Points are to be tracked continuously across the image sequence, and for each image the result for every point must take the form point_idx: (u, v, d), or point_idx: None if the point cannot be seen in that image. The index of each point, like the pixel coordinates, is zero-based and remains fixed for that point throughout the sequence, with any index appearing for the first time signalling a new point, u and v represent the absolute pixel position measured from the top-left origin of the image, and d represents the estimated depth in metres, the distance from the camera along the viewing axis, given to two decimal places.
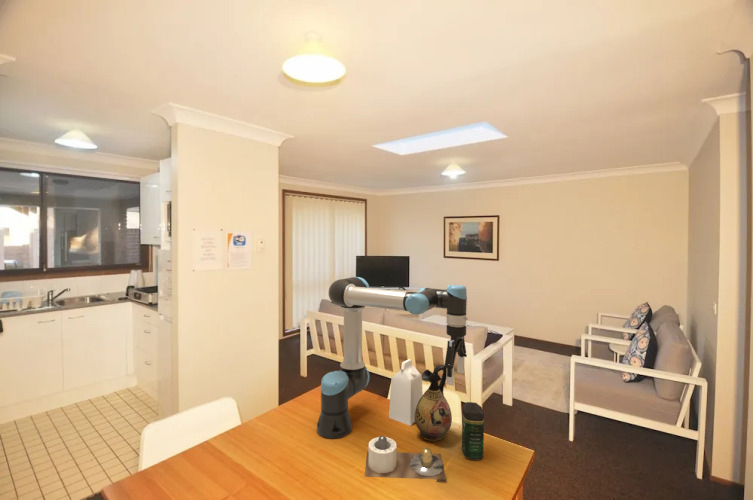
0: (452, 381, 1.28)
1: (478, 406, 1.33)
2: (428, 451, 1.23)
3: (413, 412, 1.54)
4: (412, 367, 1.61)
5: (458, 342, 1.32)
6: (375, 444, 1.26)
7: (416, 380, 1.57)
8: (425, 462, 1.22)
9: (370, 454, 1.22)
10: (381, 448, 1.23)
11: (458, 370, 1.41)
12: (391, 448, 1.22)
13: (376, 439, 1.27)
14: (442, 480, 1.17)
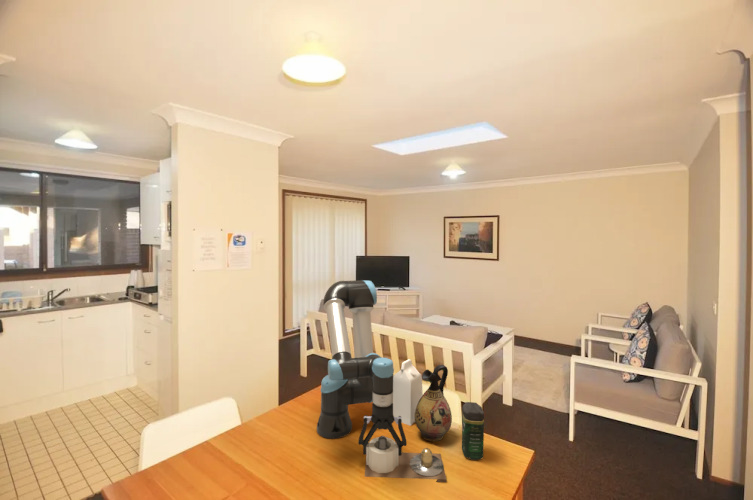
0: None
1: (478, 406, 1.33)
2: (428, 451, 1.23)
3: (413, 412, 1.54)
4: (412, 367, 1.61)
5: (377, 422, 1.22)
6: (375, 444, 1.26)
7: (416, 380, 1.57)
8: (425, 462, 1.22)
9: (370, 454, 1.22)
10: (381, 448, 1.23)
11: None
12: (391, 448, 1.22)
13: (376, 439, 1.27)
14: (442, 480, 1.17)
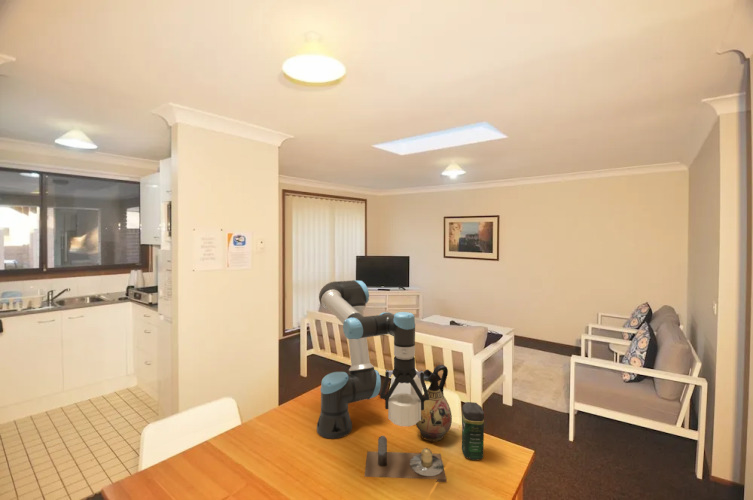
0: None
1: (478, 406, 1.33)
2: (428, 451, 1.23)
3: None
4: None
5: (399, 375, 1.21)
6: (397, 399, 1.24)
7: (416, 380, 1.57)
8: (425, 462, 1.22)
9: (392, 408, 1.20)
10: (381, 448, 1.23)
11: None
12: (413, 402, 1.20)
13: (398, 395, 1.26)
14: (442, 480, 1.17)
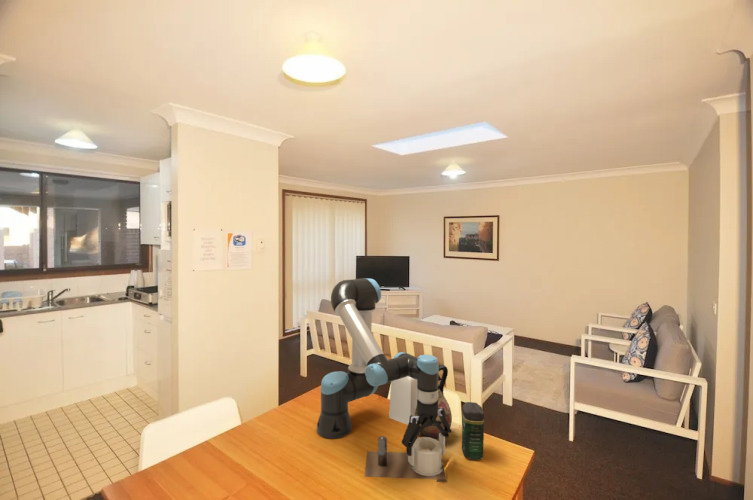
0: (412, 460, 1.19)
1: (478, 406, 1.33)
2: None
3: (413, 412, 1.54)
4: None
5: (425, 420, 1.21)
6: (418, 447, 1.24)
7: (416, 380, 1.57)
8: None
9: (421, 458, 1.19)
10: (381, 448, 1.23)
11: None
12: (437, 445, 1.23)
13: (416, 442, 1.25)
14: (442, 480, 1.17)
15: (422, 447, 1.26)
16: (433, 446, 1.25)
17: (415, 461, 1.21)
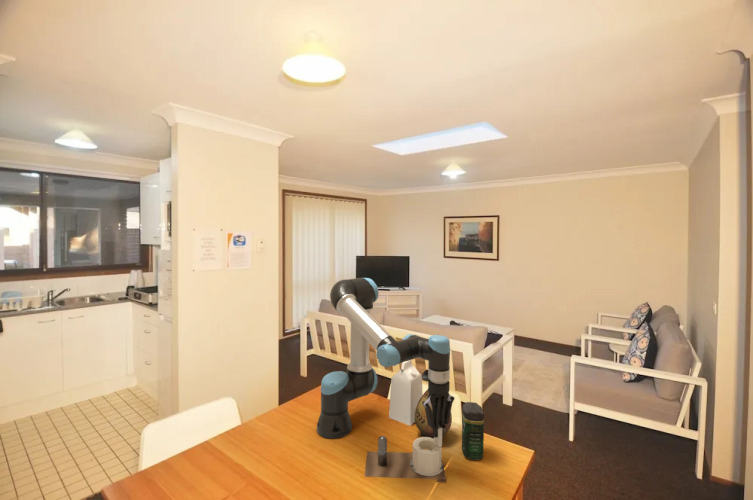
0: (438, 442, 1.22)
1: (478, 406, 1.33)
2: None
3: (413, 412, 1.54)
4: (412, 367, 1.61)
5: (437, 401, 1.21)
6: (418, 447, 1.24)
7: (416, 380, 1.57)
8: None
9: (421, 458, 1.19)
10: (381, 448, 1.23)
11: None
12: None
13: (416, 442, 1.25)
14: (442, 480, 1.17)
15: (422, 447, 1.26)
16: (433, 446, 1.25)
17: (415, 461, 1.21)
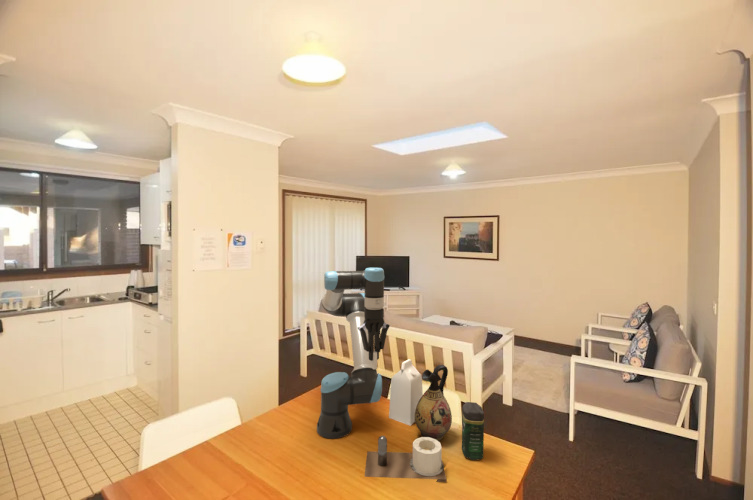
0: (373, 365, 1.32)
1: (478, 406, 1.33)
2: None
3: (413, 412, 1.54)
4: (412, 367, 1.61)
5: (371, 326, 1.31)
6: (418, 447, 1.24)
7: (416, 380, 1.57)
8: None
9: (421, 458, 1.19)
10: (381, 448, 1.23)
11: None
12: (437, 445, 1.23)
13: (416, 442, 1.25)
14: (442, 480, 1.17)
15: (422, 447, 1.26)
16: (433, 446, 1.25)
17: (415, 461, 1.21)
